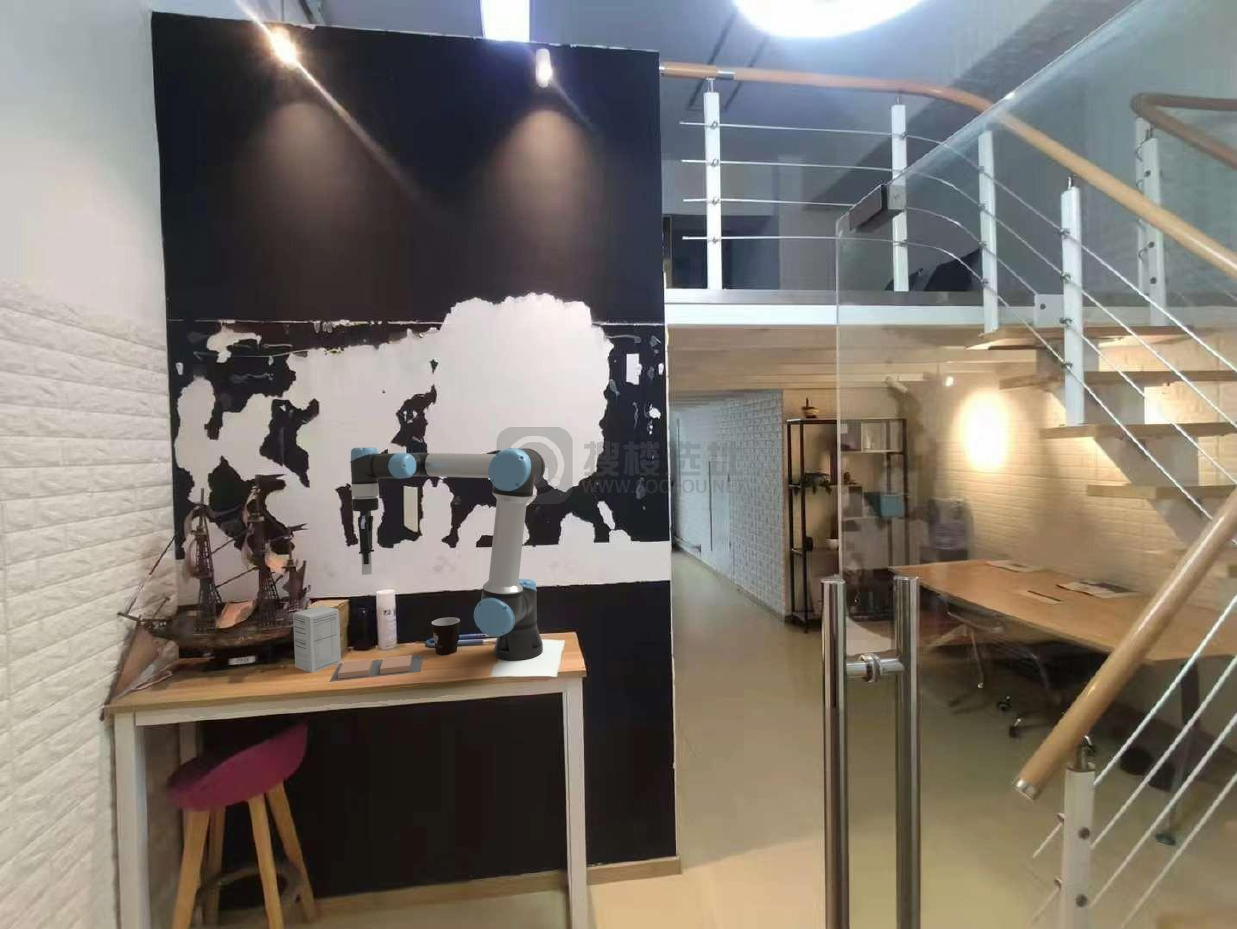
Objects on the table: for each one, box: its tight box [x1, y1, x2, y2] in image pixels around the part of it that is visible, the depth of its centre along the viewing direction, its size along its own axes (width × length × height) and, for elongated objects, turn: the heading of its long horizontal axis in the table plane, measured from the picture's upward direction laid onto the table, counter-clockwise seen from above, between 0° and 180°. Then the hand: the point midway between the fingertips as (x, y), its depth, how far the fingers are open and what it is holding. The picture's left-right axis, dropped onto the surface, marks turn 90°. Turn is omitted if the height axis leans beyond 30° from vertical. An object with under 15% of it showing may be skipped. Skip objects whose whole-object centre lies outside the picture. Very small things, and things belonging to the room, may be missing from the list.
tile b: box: [338, 658, 374, 679], centre depth 170 cm, size 8×2×9 cm
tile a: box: [380, 654, 413, 674], centre depth 173 cm, size 8×2×9 cm
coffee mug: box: [431, 616, 461, 656], centre depth 184 cm, size 12×9×10 cm
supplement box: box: [292, 605, 342, 674], centre depth 175 cm, size 10×9×17 cm
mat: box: [329, 654, 424, 682], centre depth 173 cm, size 24×14×1 cm, turn 105°
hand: (367, 574), depth 181 cm, fingers closed
